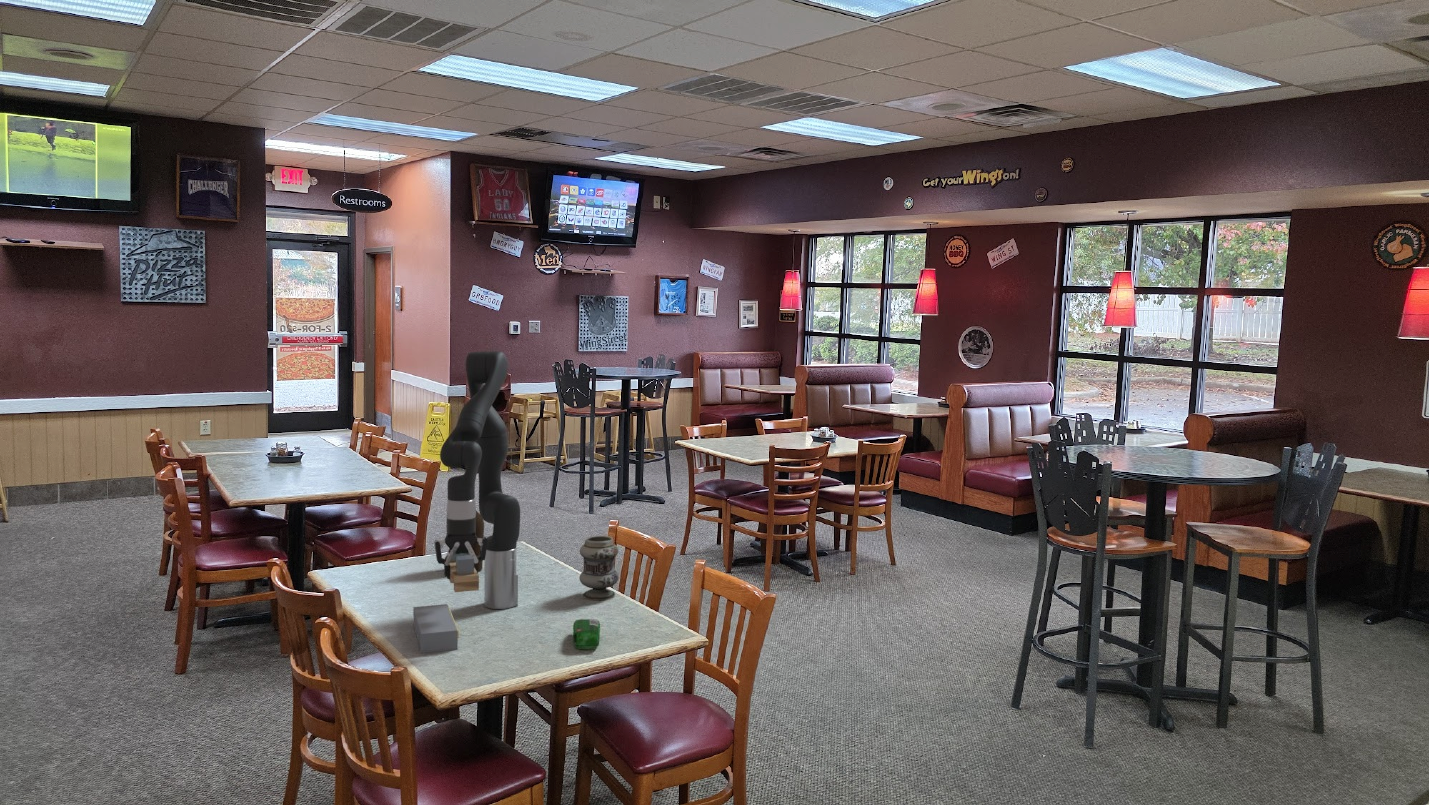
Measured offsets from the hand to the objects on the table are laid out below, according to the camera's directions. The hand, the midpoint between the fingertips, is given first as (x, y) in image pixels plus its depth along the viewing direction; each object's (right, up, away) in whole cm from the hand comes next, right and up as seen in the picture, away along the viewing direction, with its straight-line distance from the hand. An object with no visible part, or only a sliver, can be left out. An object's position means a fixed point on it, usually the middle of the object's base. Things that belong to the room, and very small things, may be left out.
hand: (461, 577), depth 255 cm
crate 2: (+3, +2, -7) cm, 8 cm away
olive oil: (-15, -9, +64) cm, 66 cm away
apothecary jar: (+32, -13, +38) cm, 52 cm away
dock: (-7, -16, -1) cm, 17 cm away
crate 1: (-3, +4, +6) cm, 8 cm away
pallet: (0, -1, 0) cm, 1 cm away
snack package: (+34, -17, -2) cm, 38 cm away
